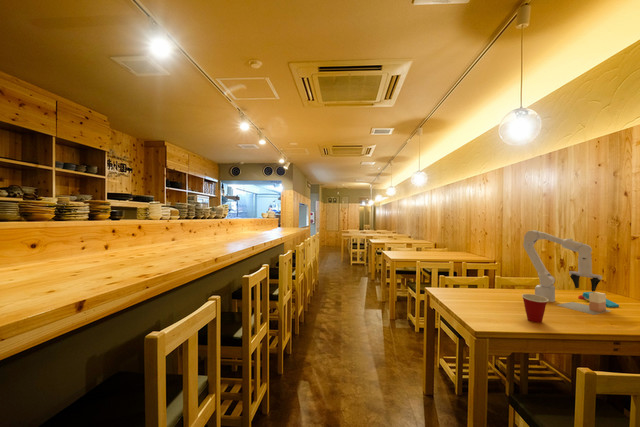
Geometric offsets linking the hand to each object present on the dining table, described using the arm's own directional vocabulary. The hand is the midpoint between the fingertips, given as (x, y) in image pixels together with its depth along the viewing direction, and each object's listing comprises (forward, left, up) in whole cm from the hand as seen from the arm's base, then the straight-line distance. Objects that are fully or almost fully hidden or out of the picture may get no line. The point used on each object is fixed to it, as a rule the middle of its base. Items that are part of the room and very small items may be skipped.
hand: (585, 289), depth 164 cm
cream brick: (+6, -1, -5) cm, 8 cm away
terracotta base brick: (+6, -1, -10) cm, 11 cm away
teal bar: (-2, +15, -11) cm, 19 cm away
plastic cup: (+3, -49, -11) cm, 50 cm away
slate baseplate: (+1, -5, -10) cm, 11 cm away
